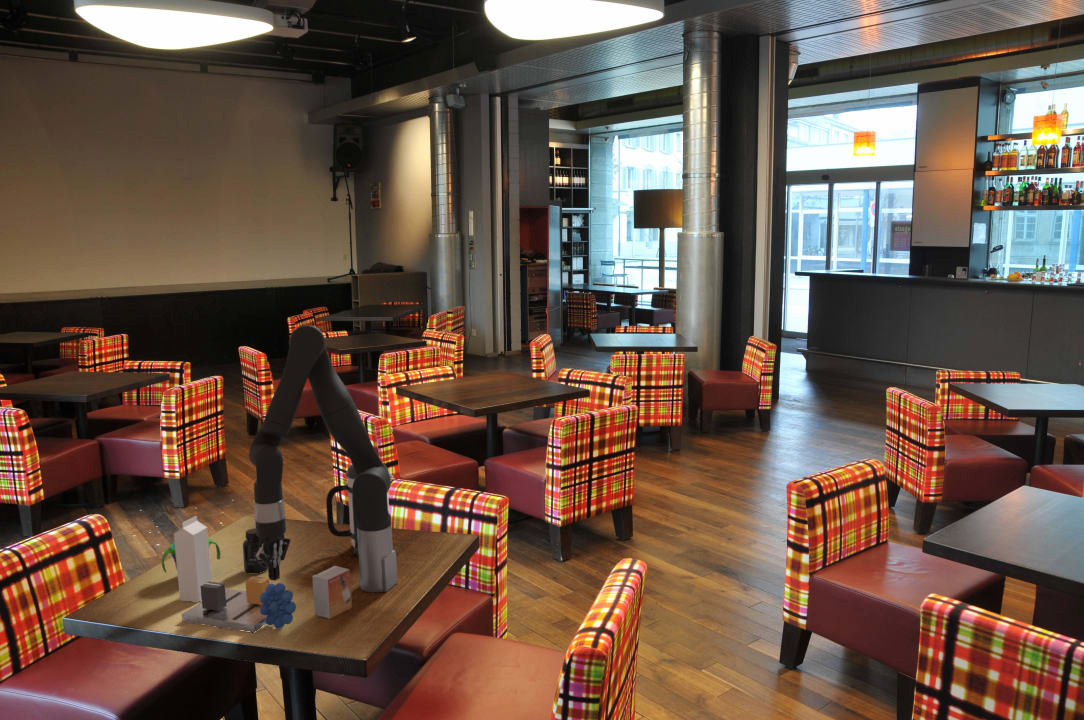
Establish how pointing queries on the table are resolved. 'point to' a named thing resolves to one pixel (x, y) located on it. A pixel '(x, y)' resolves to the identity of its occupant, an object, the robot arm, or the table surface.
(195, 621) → the console
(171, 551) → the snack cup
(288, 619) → the grapes
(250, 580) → the orange fader
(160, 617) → the table surface
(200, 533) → the milk
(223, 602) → the block
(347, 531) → the coffee press
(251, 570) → the supplement bottle
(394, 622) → the table surface
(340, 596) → the small box
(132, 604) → the table surface
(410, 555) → the table surface
